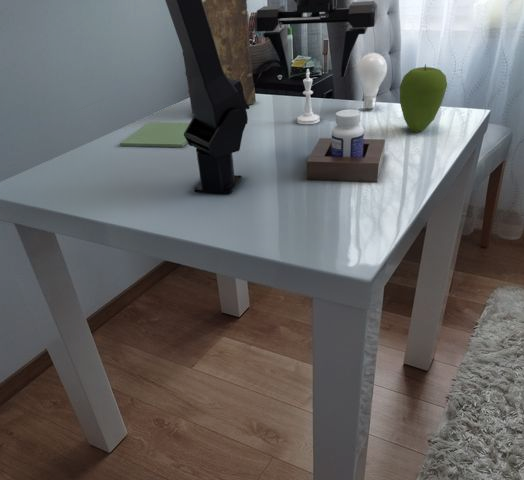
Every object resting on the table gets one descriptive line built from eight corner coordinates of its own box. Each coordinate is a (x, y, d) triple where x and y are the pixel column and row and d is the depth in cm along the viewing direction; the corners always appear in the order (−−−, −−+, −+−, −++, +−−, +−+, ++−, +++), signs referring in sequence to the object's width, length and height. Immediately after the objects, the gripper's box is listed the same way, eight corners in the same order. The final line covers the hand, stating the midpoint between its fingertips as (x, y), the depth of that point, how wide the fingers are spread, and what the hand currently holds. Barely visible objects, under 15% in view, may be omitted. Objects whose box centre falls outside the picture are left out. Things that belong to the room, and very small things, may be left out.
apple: (445, 135, 96) (456, 67, 89) (401, 138, 96) (408, 71, 89) (433, 121, 103) (442, 57, 95) (391, 124, 103) (397, 61, 96)
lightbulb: (364, 104, 116) (367, 49, 109) (389, 107, 113) (393, 50, 106) (349, 111, 112) (351, 55, 105) (374, 114, 109) (378, 57, 102)
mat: (182, 147, 101) (182, 144, 101) (120, 145, 105) (119, 142, 104) (206, 125, 111) (206, 122, 111) (149, 125, 115) (148, 122, 115)
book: (199, 119, 115) (180, -15, 99) (184, 113, 120) (163, -16, 104) (258, 103, 122) (249, -24, 106) (241, 98, 127) (231, -25, 111)
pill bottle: (361, 161, 89) (364, 107, 83) (362, 172, 85) (366, 116, 79) (330, 162, 89) (331, 108, 84) (331, 173, 85) (332, 118, 80)
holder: (377, 182, 81) (378, 163, 80) (306, 179, 84) (306, 161, 82) (383, 156, 90) (385, 139, 88) (319, 154, 93) (319, 138, 91)
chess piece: (294, 124, 108) (293, 72, 101) (299, 117, 111) (298, 66, 105) (317, 124, 106) (317, 71, 100) (321, 117, 110) (322, 66, 104)
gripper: (383, -47, 79) (375, 65, 89) (267, -39, 83) (272, 68, 93) (378, -43, 71) (370, 81, 81) (249, -34, 75) (257, 82, 85)
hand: (315, 77), depth 85 cm, fingers open, 9 cm apart
